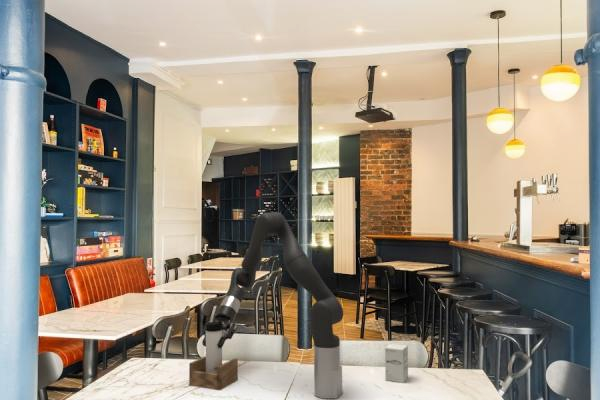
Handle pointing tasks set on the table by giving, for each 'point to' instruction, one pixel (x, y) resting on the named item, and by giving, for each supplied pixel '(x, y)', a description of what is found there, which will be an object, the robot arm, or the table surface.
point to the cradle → (218, 381)
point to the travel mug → (213, 346)
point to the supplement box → (396, 363)
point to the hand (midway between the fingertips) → (211, 346)
